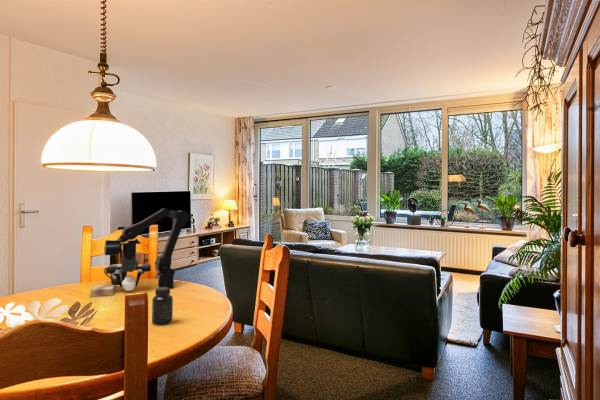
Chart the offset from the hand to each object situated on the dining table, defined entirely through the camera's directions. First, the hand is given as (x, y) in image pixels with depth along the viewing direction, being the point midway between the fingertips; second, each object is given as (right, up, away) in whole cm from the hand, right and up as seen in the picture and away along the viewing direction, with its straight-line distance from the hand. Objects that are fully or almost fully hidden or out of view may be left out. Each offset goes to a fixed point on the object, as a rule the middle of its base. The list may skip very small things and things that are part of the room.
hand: (129, 287), depth 169 cm
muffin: (0, -2, 0) cm, 2 cm away
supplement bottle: (+32, -3, -42) cm, 53 cm away
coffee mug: (-14, -3, +16) cm, 21 cm away
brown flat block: (-10, -2, -4) cm, 11 cm away
